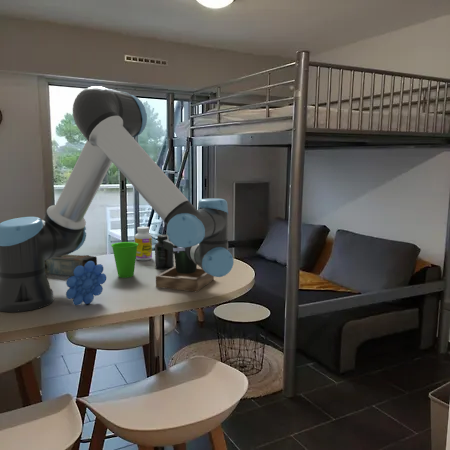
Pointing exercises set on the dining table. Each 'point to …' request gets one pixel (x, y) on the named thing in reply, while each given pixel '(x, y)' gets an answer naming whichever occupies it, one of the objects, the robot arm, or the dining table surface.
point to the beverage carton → (67, 264)
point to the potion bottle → (184, 263)
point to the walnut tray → (183, 280)
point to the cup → (125, 258)
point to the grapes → (85, 283)
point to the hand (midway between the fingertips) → (181, 238)
